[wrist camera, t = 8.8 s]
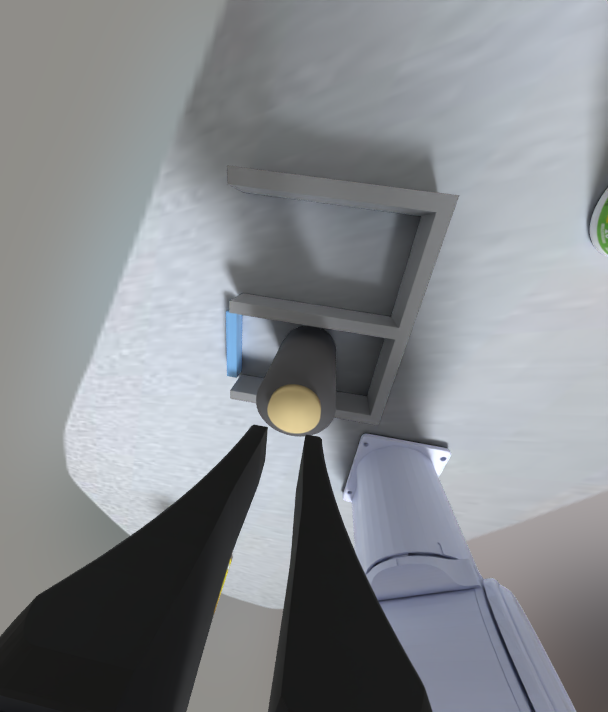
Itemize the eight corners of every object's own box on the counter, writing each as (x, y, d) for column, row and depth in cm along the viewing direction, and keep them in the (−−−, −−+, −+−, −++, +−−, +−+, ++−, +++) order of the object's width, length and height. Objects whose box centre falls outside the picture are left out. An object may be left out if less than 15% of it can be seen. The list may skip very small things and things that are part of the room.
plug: (330, 379, 20) (327, 450, 13) (279, 369, 20) (251, 435, 14) (341, 330, 18) (344, 386, 11) (284, 320, 18) (254, 369, 12)
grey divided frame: (373, 405, 21) (378, 425, 19) (232, 380, 21) (220, 396, 19) (439, 202, 14) (459, 195, 12) (231, 175, 15) (212, 163, 12)
